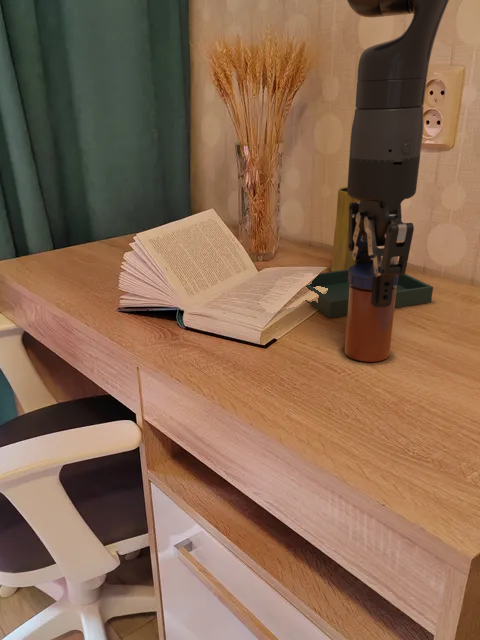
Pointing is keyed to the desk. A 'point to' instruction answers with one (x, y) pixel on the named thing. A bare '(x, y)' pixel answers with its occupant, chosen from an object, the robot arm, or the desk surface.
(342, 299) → the tray
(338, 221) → the vase
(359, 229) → the robot arm
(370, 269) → the lid
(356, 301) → the jar
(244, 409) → the desk surface
